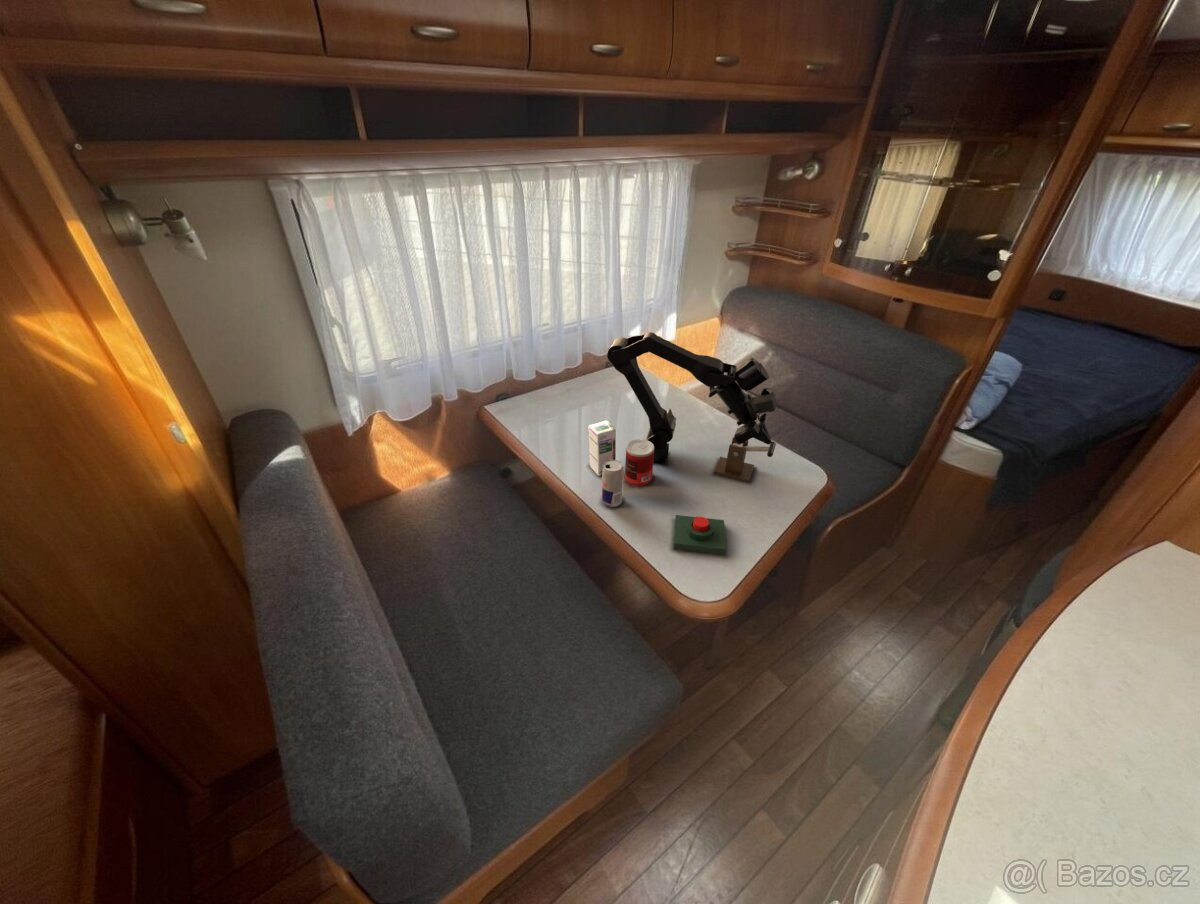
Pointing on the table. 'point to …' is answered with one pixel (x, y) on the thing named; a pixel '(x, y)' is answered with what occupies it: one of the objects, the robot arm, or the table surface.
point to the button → (700, 524)
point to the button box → (699, 536)
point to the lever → (759, 448)
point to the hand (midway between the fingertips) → (770, 443)
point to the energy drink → (612, 483)
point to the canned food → (639, 462)
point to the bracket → (735, 464)
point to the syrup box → (601, 445)
